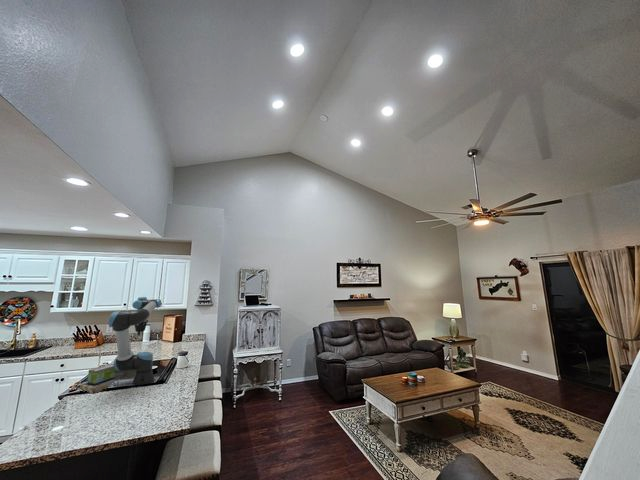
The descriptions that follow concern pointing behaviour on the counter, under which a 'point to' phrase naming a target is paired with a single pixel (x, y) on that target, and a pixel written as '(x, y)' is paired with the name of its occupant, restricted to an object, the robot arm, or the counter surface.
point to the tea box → (101, 375)
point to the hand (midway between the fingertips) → (139, 338)
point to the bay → (93, 388)
